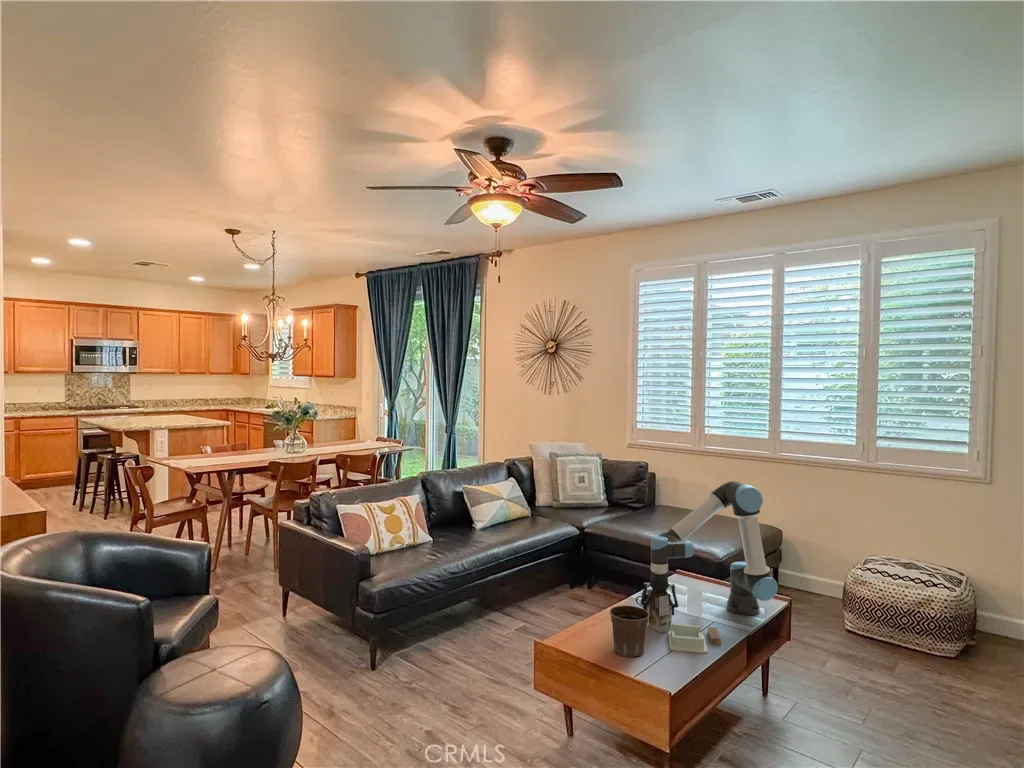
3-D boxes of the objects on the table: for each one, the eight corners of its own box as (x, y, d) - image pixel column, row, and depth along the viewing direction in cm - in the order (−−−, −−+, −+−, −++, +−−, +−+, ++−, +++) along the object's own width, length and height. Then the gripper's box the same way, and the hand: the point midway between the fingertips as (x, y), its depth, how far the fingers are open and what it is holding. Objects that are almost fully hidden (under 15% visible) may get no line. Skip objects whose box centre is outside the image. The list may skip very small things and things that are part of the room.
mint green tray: (703, 636, 265) (703, 624, 265) (707, 653, 249) (707, 641, 249) (667, 633, 268) (667, 622, 268) (670, 650, 252) (670, 638, 252)
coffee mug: (658, 609, 297) (658, 589, 297) (660, 616, 288) (660, 595, 288) (634, 608, 298) (634, 588, 298) (636, 615, 289) (636, 594, 289)
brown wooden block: (717, 634, 268) (717, 627, 268) (721, 645, 257) (721, 638, 257) (708, 633, 269) (708, 626, 269) (711, 644, 258) (711, 637, 258)
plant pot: (649, 645, 257) (649, 607, 257) (649, 662, 241) (649, 621, 241) (610, 641, 260) (610, 603, 260) (608, 657, 245) (608, 617, 245)
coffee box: (671, 630, 271) (671, 594, 271) (659, 632, 269) (659, 596, 269) (659, 623, 280) (659, 588, 280) (647, 625, 278) (647, 590, 278)
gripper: (683, 570, 276) (683, 619, 276) (634, 567, 280) (634, 616, 280) (685, 575, 269) (685, 626, 269) (634, 572, 273) (634, 622, 273)
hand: (659, 621), depth 275 cm, fingers closed on coffee box, 9 cm apart
